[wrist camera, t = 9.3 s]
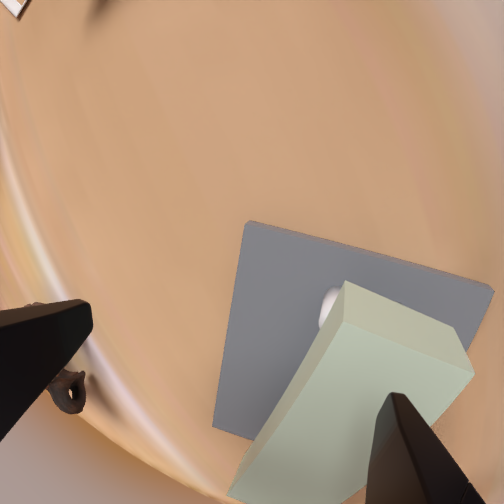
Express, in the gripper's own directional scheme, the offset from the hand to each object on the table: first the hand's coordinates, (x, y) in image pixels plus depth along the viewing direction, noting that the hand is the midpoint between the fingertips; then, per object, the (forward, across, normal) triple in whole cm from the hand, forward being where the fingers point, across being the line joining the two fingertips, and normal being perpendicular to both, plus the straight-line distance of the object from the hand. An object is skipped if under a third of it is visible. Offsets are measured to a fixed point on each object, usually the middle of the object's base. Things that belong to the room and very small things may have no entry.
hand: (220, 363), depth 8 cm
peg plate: (+12, -5, +8) cm, 15 cm away
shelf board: (+8, -5, +8) cm, 13 cm away
